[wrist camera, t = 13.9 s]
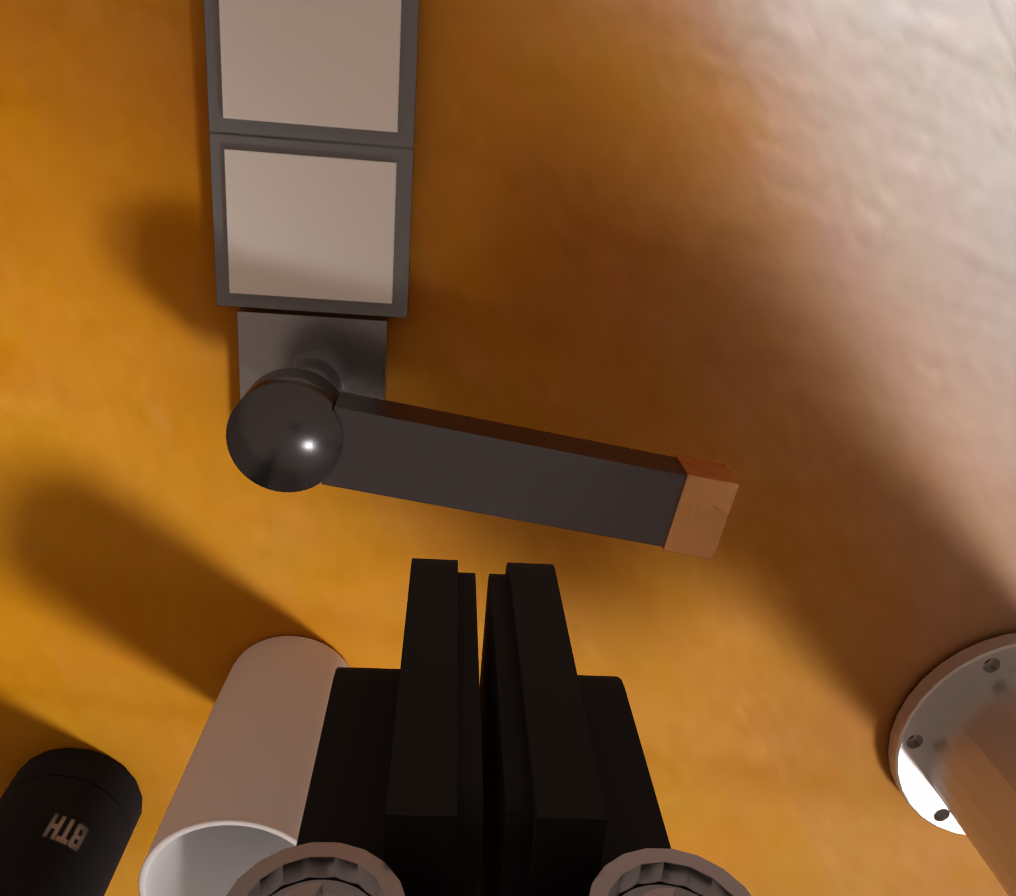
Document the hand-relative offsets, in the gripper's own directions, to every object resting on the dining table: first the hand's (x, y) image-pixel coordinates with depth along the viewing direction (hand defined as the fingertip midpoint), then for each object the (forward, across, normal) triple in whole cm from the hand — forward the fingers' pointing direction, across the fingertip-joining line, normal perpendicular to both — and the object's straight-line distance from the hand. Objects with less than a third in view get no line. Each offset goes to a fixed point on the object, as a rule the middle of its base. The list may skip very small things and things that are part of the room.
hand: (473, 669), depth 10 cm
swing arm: (+22, -1, +6) cm, 23 cm away
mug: (+27, +6, +22) cm, 36 cm away
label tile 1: (+27, +6, -8) cm, 29 cm away
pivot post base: (+27, +6, +5) cm, 28 cm away
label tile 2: (+27, +6, -2) cm, 28 cm away
